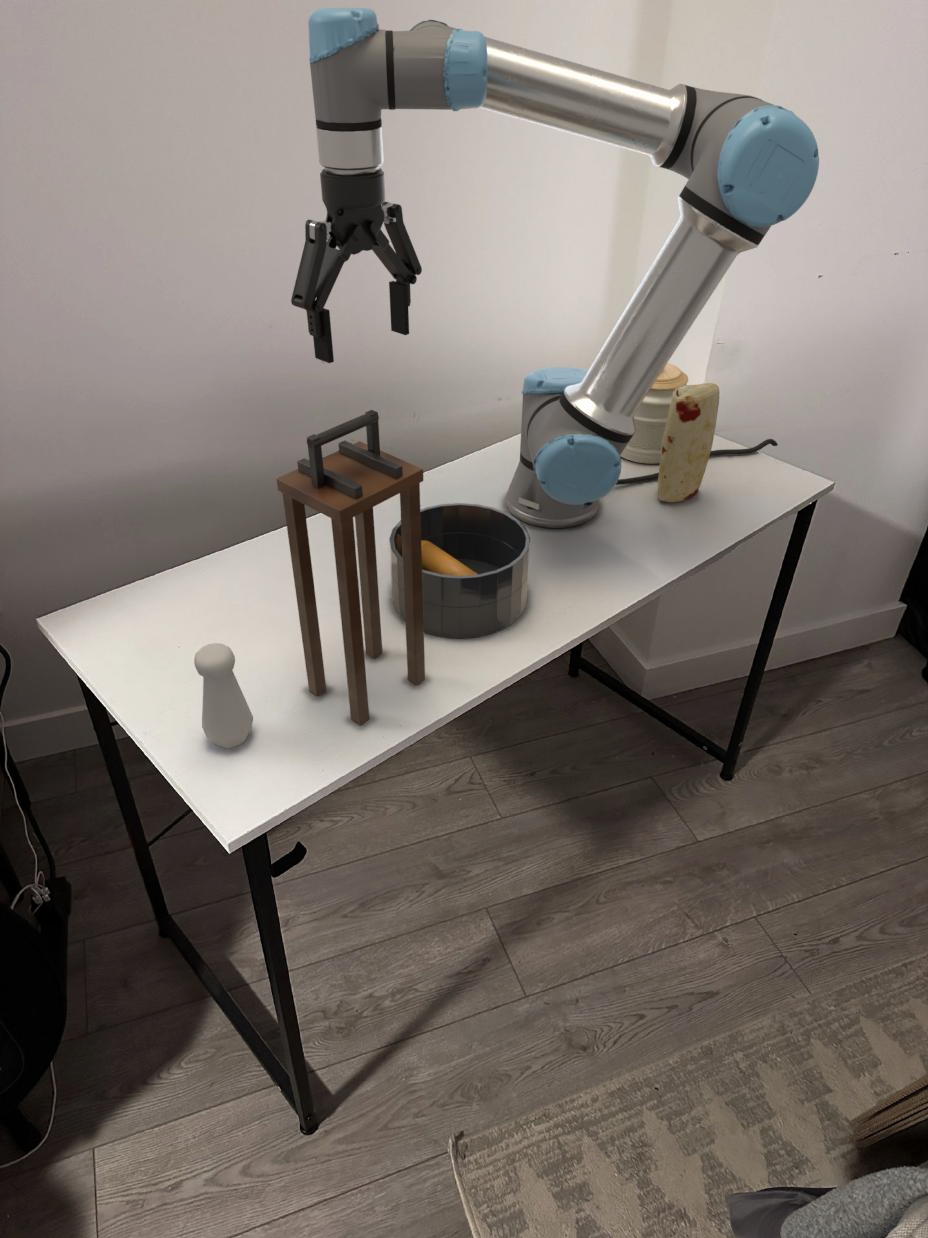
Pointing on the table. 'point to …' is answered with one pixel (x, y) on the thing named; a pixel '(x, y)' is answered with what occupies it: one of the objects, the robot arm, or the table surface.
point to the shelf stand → (354, 549)
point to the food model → (687, 441)
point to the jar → (653, 417)
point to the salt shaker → (222, 697)
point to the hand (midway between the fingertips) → (363, 345)
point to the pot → (483, 547)
